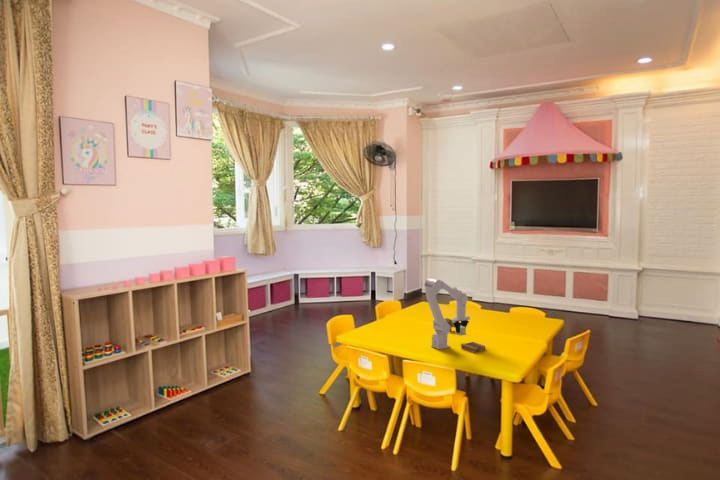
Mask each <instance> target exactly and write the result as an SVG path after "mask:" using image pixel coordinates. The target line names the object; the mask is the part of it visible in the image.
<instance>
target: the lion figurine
mask: <svg viewBox="0 0 720 480" xmlns="http://www.w3.org/2000/svg"><path fill="white" fill-rule="evenodd" d="M444 319H445V320H446V321H447V323H448V324H449V325H450V331H449V332H451V331H452V328H455V326H454V324H453V322H452V319H451V318H449V317H444Z"/></svg>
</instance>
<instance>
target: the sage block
mask: <svg viewBox="0 0 720 480" xmlns="http://www.w3.org/2000/svg"><path fill="white" fill-rule="evenodd" d="M466 328H467V326H466V327H464V326H460V332H459V333H457V332H456V331H455V335H457V336H460V337H461V336H466V334H467V333H466V331H467V329H466Z"/></svg>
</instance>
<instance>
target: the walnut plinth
mask: <svg viewBox="0 0 720 480" xmlns="http://www.w3.org/2000/svg"><path fill="white" fill-rule="evenodd" d="M460 346H461V348H460V349H462V350H464V351H466V352H469V353H472V354H476V353H479V352H483V351H486V346H485V345H483V344H481V343H477V342H476V341H475V342H474V341H471V342H467V343H463V344H461V345H460Z"/></svg>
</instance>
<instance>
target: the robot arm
mask: <svg viewBox="0 0 720 480" xmlns="http://www.w3.org/2000/svg"><path fill="white" fill-rule="evenodd" d="M423 285H424V288H425V297H426V300H427V303H428V305H429V309H430V311H431V314H432V317H433V321H432V326H433V330H434V332H435V333H434V334H432V336H431V345H430V347H433V348H434V349H438V350H445V349H447V348H450V347H451V345H448V334H449V333H450V332H451V331H450V325H449V324H448V323H447V321H446V320H445V317H444V316H443V312H442V310H441V308H440V305H439V302H438V299H437V295H438V294H439V292H441V290H444V291H445V292H447V293H448V295H449V296H450V297H452V298H453V299H454V300H455V301H456V314H455V316H456V317H454V318H452V319H451V320H452V322H453V324H454V326H455V333H456V332H457V333H459V332H460V326H464V327H466V328H467V326H468V325H469V322H470V321H469V320H471V318H470V315H469V316H468V315H467V314H466V309H467V306H466V305H467V301H468V300H469V297H468V295H467V293H464V292H462V290H459V289H458V288H457V287H456V286H452V287H451V286H450V285H449V284H447V283H445V282H444V281H443V280H440V279H436V278H431V277H428V278H426V279H425V282H424V284H423Z"/></svg>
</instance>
